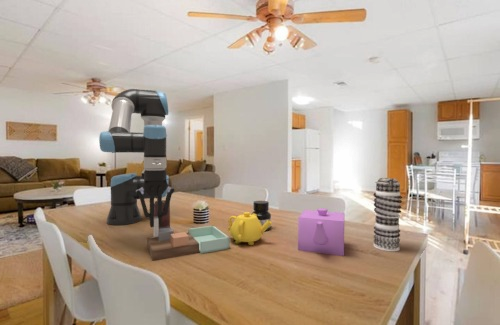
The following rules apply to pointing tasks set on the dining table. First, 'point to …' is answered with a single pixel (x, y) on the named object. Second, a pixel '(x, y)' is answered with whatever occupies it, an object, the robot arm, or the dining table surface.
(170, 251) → the plate
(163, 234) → the grey square block
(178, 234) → the terracotta tile
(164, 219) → the can
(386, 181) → the decorative candle
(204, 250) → the tray
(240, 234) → the teapot
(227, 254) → the dining table surface
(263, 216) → the ink bottle
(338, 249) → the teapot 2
